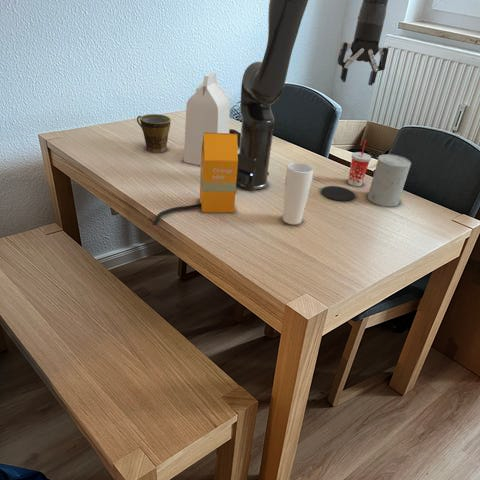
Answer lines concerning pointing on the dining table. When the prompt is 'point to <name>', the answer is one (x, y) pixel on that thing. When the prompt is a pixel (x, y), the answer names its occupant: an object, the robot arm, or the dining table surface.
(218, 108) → the milk
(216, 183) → the orange juice
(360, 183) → the beverage cup
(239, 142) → the hairbrush
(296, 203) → the drinking glass
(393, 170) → the grey wide plain cylinder
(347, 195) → the coaster
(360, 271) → the dining table surface
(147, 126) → the ceramic cup
